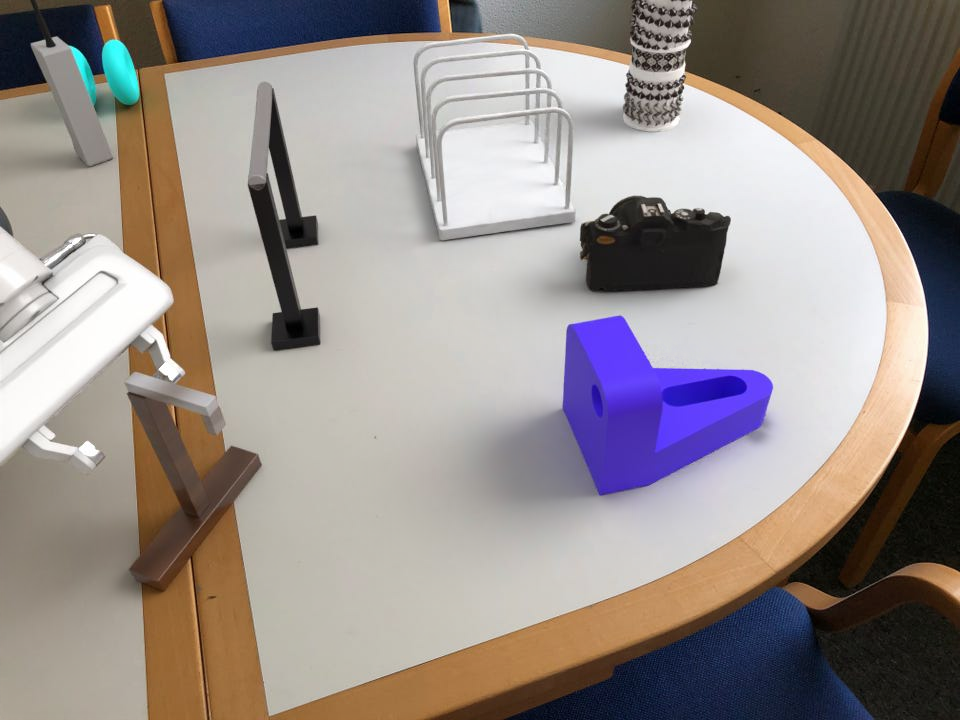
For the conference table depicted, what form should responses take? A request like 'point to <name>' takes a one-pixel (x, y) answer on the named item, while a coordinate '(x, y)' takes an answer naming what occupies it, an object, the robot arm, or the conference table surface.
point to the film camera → (653, 246)
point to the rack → (280, 224)
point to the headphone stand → (184, 475)
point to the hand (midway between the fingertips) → (139, 422)
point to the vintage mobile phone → (71, 96)
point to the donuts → (112, 72)
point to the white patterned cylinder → (657, 63)
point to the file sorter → (492, 155)
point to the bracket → (649, 407)
